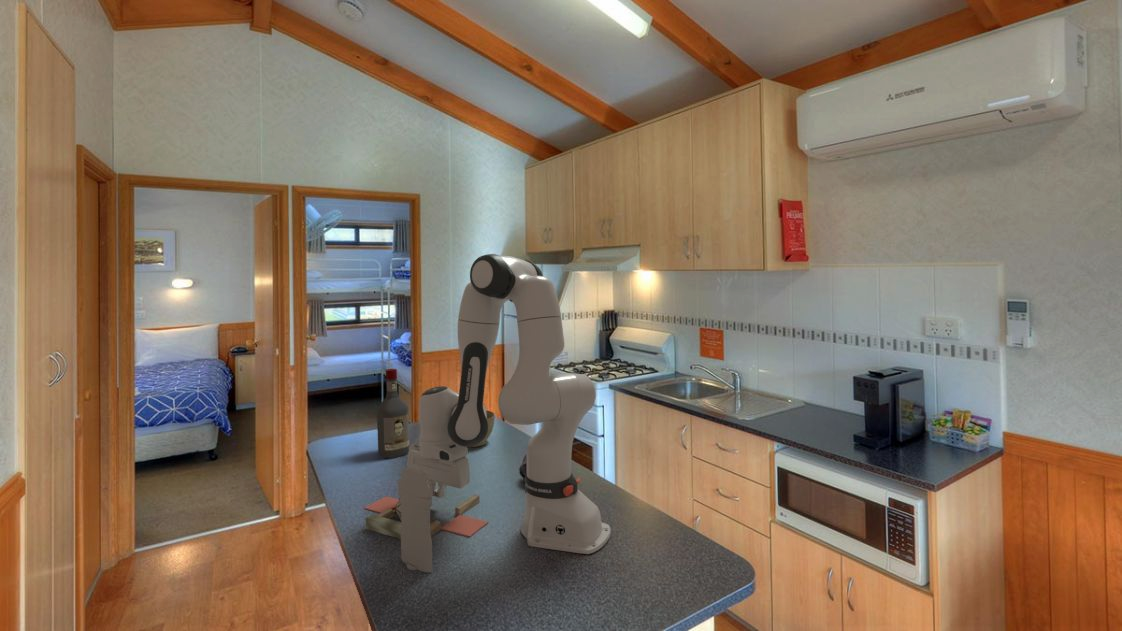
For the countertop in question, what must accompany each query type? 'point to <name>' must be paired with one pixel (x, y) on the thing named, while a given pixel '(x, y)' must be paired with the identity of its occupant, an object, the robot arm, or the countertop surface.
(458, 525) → the mats
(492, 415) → the planter bowl
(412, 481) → the tall pale column
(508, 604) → the countertop surface
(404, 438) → the liquor
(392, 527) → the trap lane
